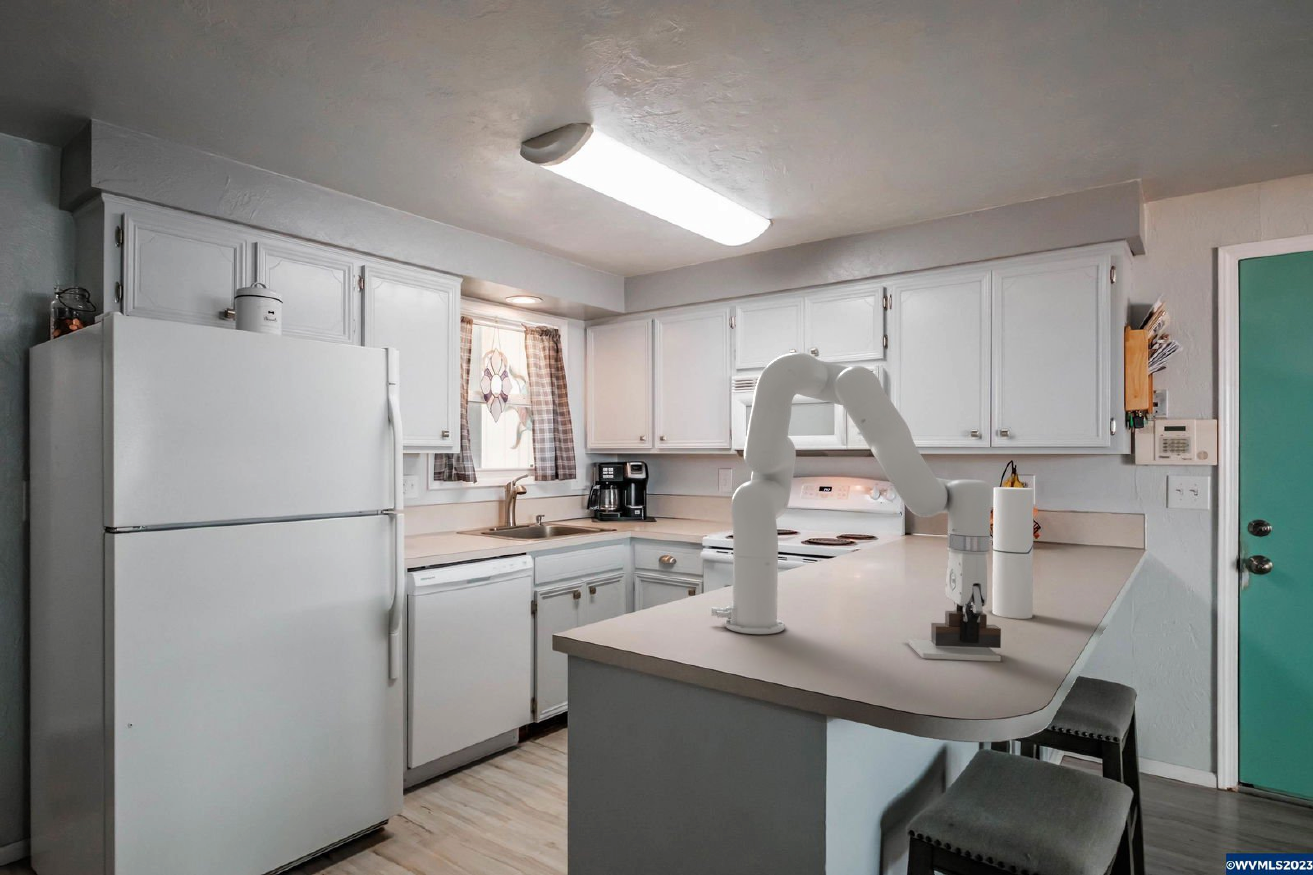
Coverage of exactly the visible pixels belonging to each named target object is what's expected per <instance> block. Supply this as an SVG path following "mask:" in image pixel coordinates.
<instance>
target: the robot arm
mask: <svg viewBox="0 0 1313 875" xmlns="http://www.w3.org/2000/svg"><path fill="white" fill-rule="evenodd" d="M796 395H800V396H802V397H806V398H811V399H815V400H819V401H823V402H827V403H829V404H830V403H831V404H833V405H839V406H842V408H844V410H845V411H846V413H847V415H848V416H849V418H850V419H851V420H852V422H853V424H854V425H855V427H856V429H857V430H858V432H859V433H860V434H861V436H862V438H863V440H864V441H865V442H866V445H867V446H868V447H869V449H870V452H871V454H872V455H873V456H874V458H875V459H876V460H877V462H878V464H879V465H880V467H881V469H882V471H883V472H884V474H885V476H886V478H887V480H889V482H890V484H891V486H892V487H893V489H894V490H895V492H896V493H897V495H898V497H899V498H900V499H901V501H902V502H903V504H904V505H905V507H906V508H907V509H908V511H910V512H911V513H912V514H913V515H915V516H918V517H920V518H931V517H935V516H936V515H938V514H947V548H946V549H947V551H948V558H947V566H946V578H945V579H946V580H945V596H946V597H947V598H948V599H949V600H950V601H952V602H953V604H954V610H953V611H963V621H961V642H963V643H979V622H980V614H982V612H983V613H984V609H983V607H985V606H986V605H987V602H988V564H987V561H988V560H987V555H989V554H990V553H991V517H992V516H991V512H992V510H991V509H992V486H991V485H990V483H989V482H988V481H985V480H983V479H967V478H966V479H965V478H963V479H958V478H957V479H948V478H947V479H945V478H939V477H936V476H935V474H934V473H933V471H932V469H931V468H930V467H929V465H928V464H927V462H926V461H925V459H924V458H923V456H922V455H921V453H920V451H919V449H918V447H917V446H916V444H915V442H914V440H913V437H912V433H911V431H910V430H911V429H910V428H909V426H908V424H907V422H906V421H905V419H904V418H903V417H902V415H901V414H900V412H899V411H898V409H897V408H896V406H895V405H894V403H893V402H892V400H891V399H890V397H889V396H888V394H887V393H886V391H885V389H884V388H883V386H882V384H881V380H880V379H879V377H878V376H877V375H876V373H874V372H873V371H871V370H870V369H868V367H865V366H861V365H853V366H845V365H840V364H836V363H833V362H829V361H824V360H820V359H818V358H816V357H814V356H812V355H811V354H808V353H806V352H790V353H785V354H783V355H780V356H778V357H776V358H775V359H773V360H771V361H770V362H769V363H768V364H767V365H766V366H765V367H764V368H763V370H761V372H760V374H759V376H758V378H757V381H756V383H755V387H754V392H753V398H752V405H751V410H750V415H749V420H748V425H747V432H746V438H745V443H744V449H743V460H744V464H745V465H746V467H747V468H748V469H749V470H750V471H751V475H750V480H747V481H745V482H744V483H741V485H739V486H738V487H737V489H735V491H734V493H733V495H732V498H731V503H730V513H731V514H730V515H731V522H732V523H731V524H732V536H733V537H732V539H733V540H732V541H733V544H732V553H733V554H732V560H733V562H732V602H731V603H730V605H729V606H728V605H726V607H719V606H711V617H716V618H718V619H719V618H720V619H723V618H724V619H725V621H724V626H725V628H726V629H728V630H729V631H732V632H736V633H739V634H740V633H741V634H746V635H747V634H748V635H773V634H778V633H781V632H782V631H784V630H785V623H784V621H782V620H780V619H778V581H779V580H778V579H779V578H778V575H779V573H778V572H779V567H778V566H779V536H778V535H779V534H778V527H777V526H778V525H777V519H779V518H780V517H782V516H783V515H784V513H785V512H786V510H788V509H787V508H788V506H789V501H790V499H791V498H790V497H791V493H792V485H793V479H794V474H795V473H794V472H795V468H796V460H797V452H796V447H795V444H794V442H793V440H792V439H791V438H790V437H789V436H788V435H789V429H790V422H791V417H792V406H793V400H794V398H795V396H796Z"/></svg>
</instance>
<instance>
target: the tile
mask: <svg viewBox="0 0 1313 875" xmlns="http://www.w3.org/2000/svg"><path fill="white" fill-rule="evenodd" d="M908 645H909V646H910V647H911V649H913V650H914V652H916V653H917V654H918V655H919V657H921V658H922V659H925V660H926V659H929V660H951V661H955V660H956V661H977V662H978V661H979V662H1001V660H1002V659H1001V655H1000V654H998V653H997V652H996V651H994V650H993V649H992V648H984V647H956V646H936V645H934V644H933V643H932V642H931V639H914V638H913V639H912V638H911V639H908Z"/></svg>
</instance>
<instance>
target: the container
mask: <svg viewBox="0 0 1313 875" xmlns="http://www.w3.org/2000/svg"><path fill="white" fill-rule="evenodd" d="M1034 491H1035V490H1034V488H1030V487H1015V486H1014V487H1012V486H1011V487H1010V486H1005V487H1004V486H995V487H993V498H992V499H993V503H992V504H993V505H992V506H993V508H992V510H993V512H992V514H993V516H992V518H993V519H992V522H993V523H992V610H991V611H992V614H993V615H995V616H998V617H1002V618H1009V619H1016V620H1017V619H1018V620H1019V619H1021V620H1023V619H1024V620H1026V619H1031V618H1033V608H1034V607H1033V602H1034V601H1033V598H1034V597H1033V595H1034V594H1033V591H1034Z"/></svg>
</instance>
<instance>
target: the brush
mask: <svg viewBox="0 0 1313 875" xmlns="http://www.w3.org/2000/svg"><path fill="white" fill-rule="evenodd" d="M944 612H945V613H944V622H930V623H931V626H930V628H931V629H930V630H931V632H930V635H931V636H930V640H931V642H932V643H933V644H934V645H936V646H956V647H984V648H990V649H1001V646H1002V644H1001V643H1002V628H1001V627H999V626H998V625H996V624H988V623H987V622H988V614H986V613H985V612H984V611H983V612H982V614H980V622H979V643H963V642H961V621H963V611H954V610H944Z"/></svg>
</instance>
